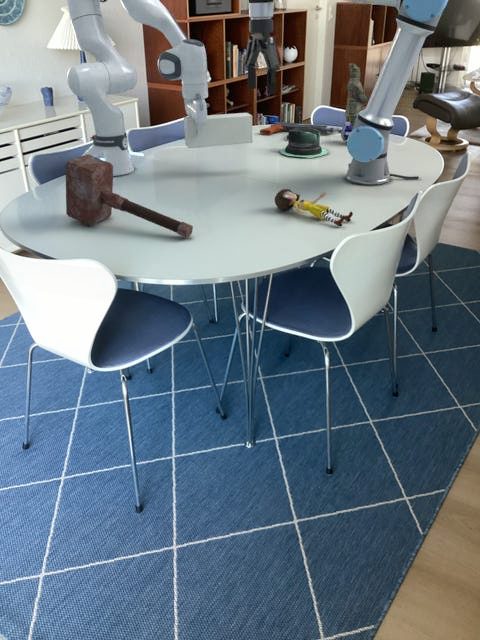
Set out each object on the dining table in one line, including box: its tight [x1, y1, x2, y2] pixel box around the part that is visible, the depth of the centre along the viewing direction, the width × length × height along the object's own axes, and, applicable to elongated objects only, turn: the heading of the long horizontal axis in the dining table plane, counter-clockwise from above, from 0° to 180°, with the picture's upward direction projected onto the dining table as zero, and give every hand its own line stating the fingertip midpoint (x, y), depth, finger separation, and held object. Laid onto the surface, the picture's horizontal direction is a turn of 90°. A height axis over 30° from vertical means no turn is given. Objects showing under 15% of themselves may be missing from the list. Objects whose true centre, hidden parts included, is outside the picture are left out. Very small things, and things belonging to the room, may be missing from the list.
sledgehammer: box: [65, 154, 194, 239], centre depth 159 cm, size 17×10×40 cm
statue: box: [344, 62, 368, 127], centre depth 262 cm, size 11×9×30 cm
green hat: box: [279, 128, 328, 159], centre depth 234 cm, size 15×19×20 cm
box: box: [183, 112, 253, 149], centre depth 201 cm, size 24×6×10 cm, turn 106°
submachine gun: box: [259, 121, 335, 140], centre depth 264 cm, size 32×3×25 cm
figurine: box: [274, 188, 354, 227], centre depth 167 cm, size 13×8×25 cm
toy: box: [338, 121, 353, 142], centre depth 244 cm, size 9×9×15 cm
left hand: (197, 133), depth 199 cm, fingers closed on box, 6 cm apart
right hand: (261, 91), depth 184 cm, fingers open, 13 cm apart
